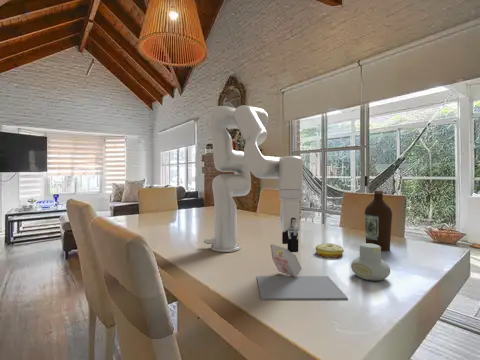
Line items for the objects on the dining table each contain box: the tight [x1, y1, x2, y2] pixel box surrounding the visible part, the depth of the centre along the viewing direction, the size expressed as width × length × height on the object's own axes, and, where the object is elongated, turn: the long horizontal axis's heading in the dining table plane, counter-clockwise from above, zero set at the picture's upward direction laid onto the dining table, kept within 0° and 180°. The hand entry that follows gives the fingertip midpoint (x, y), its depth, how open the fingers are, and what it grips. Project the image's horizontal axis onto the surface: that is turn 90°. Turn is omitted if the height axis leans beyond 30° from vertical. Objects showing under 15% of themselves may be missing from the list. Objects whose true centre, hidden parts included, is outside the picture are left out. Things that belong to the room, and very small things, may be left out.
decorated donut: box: [315, 242, 345, 258], centre depth 109 cm, size 10×11×4 cm
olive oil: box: [364, 190, 393, 252], centre depth 118 cm, size 11×11×25 cm
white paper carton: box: [269, 243, 303, 277], centre depth 84 cm, size 4×7×10 cm
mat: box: [256, 275, 349, 301], centre depth 76 cm, size 22×15×1 cm
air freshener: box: [350, 242, 391, 282], centre depth 84 cm, size 11×8×10 cm
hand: (289, 247), depth 88 cm, fingers open, 9 cm apart
